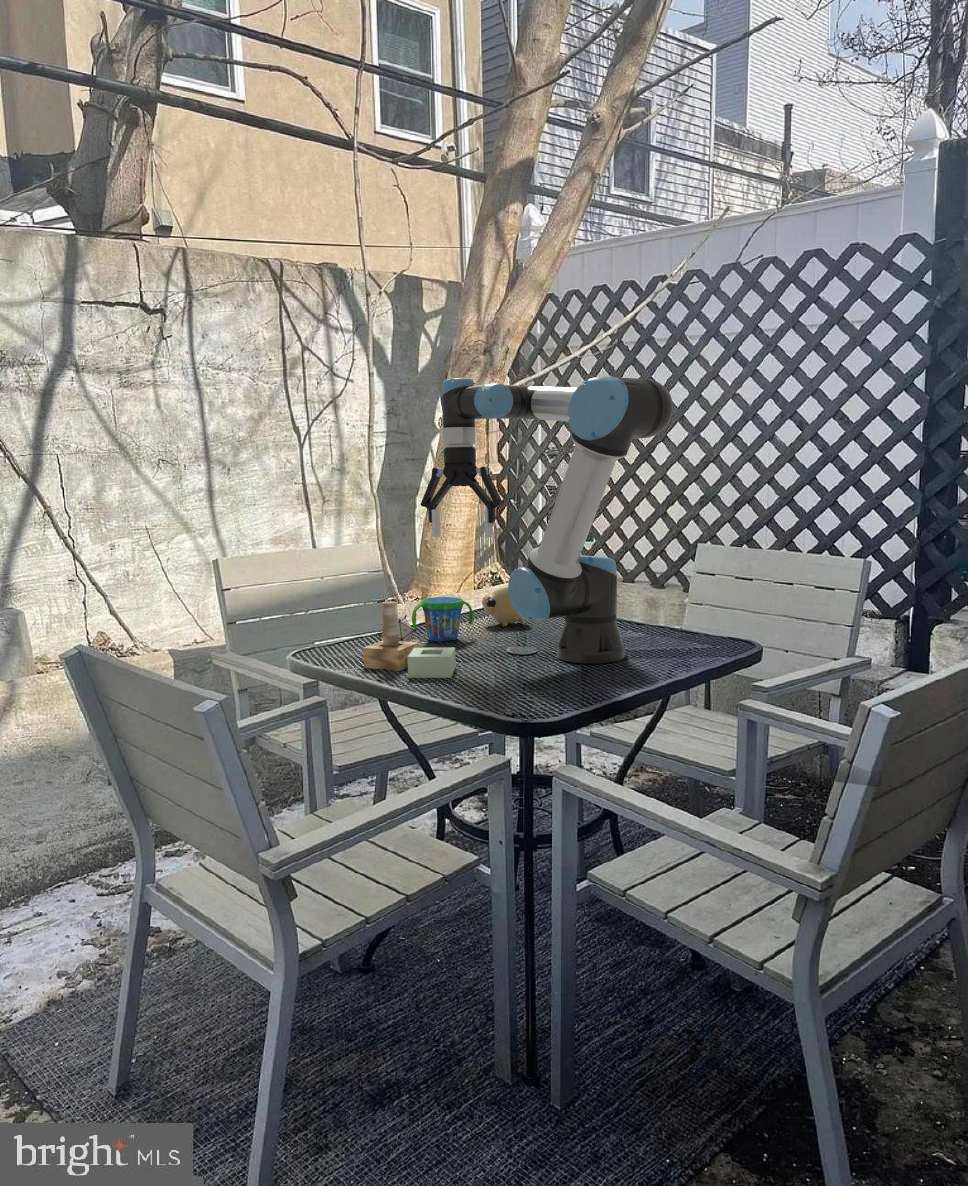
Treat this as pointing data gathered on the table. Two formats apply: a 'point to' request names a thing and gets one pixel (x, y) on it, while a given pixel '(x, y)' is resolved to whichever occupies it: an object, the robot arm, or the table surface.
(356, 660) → the table surface
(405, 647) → the wooden square ring
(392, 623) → the dowel
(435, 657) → the sage bead
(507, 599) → the beige fuzzy round body
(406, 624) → the game die
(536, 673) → the table surface
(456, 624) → the snack cup
